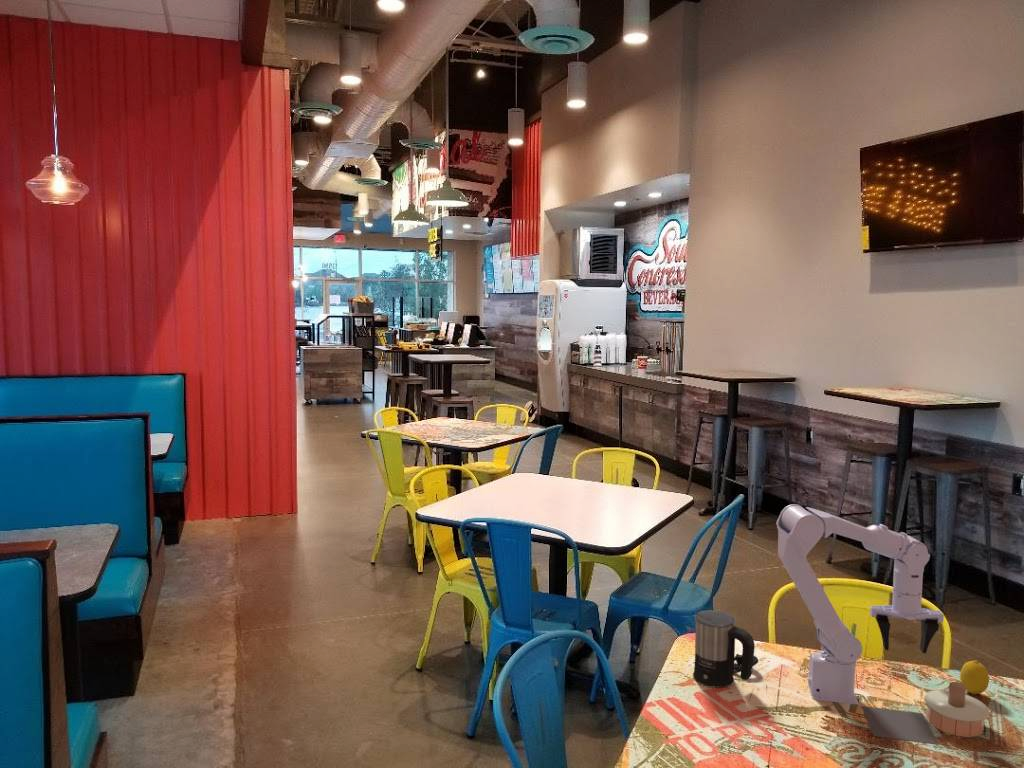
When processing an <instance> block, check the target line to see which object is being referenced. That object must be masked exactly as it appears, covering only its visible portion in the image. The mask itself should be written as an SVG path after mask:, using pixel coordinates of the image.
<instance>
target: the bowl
mask: <svg viewBox="0 0 1024 768" xmlns="http://www.w3.org/2000/svg"><path fill="white" fill-rule="evenodd" d="M926 720H928V722H929V725H932V726H933V727H934V728H937V729H938V730H939V731H942V732H945V733H947V734H949V735H950V734H951V735H953V736H957V737H966V738H972V737H979V736H981V735H982V733H983V731H984V729H985V720H983V721H978V722H967V721H960V720H955V719H952V718H949V717H946V716H943V715H941V714H939V713H937V712H935V711H933V710H932V709H930V708H929V707H928V706H927V705H926Z"/></svg>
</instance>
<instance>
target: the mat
mask: <svg viewBox="0 0 1024 768" xmlns="http://www.w3.org/2000/svg"><path fill="white" fill-rule="evenodd" d="M861 708H862V711H863V713H864V715H865V718H866V721H867V723H868V726H869V728H870V732H871V734H872V735H873V737H878V738H886V739H893V740H901V741H910V742H916V743H923V744H931V745H940V743H939V742H938V740H937V738H936V736H935V733H934V732H933V731H932V729H931V727H930V724H929V723H928V721H927V718H926V717H925V716H924V714H923V712H914V711H905V710H899V709H898V710H897V709H890V708H883V707H874V706H864V705H861Z"/></svg>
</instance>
